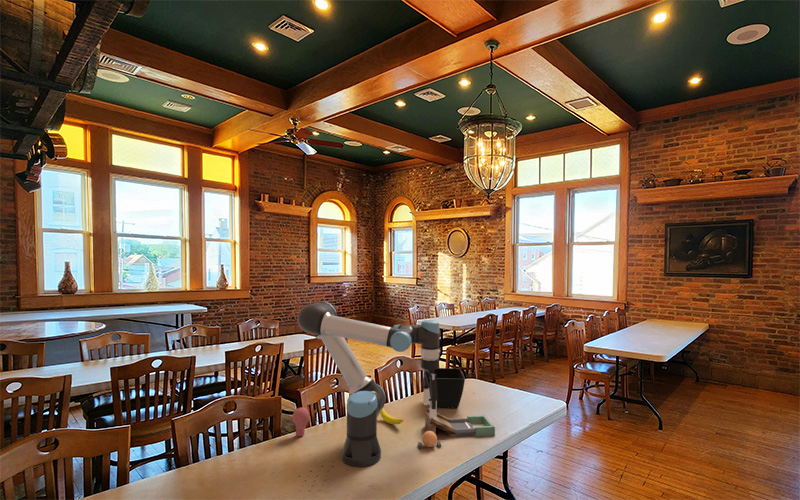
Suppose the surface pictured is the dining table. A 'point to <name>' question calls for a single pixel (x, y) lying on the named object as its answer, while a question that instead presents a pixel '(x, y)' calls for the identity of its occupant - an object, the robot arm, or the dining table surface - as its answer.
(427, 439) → the ball
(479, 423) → the green open tray
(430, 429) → the ramp
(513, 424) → the dining table surface
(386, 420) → the banana
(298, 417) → the light bulb
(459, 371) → the flower pot
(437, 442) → the grey flat pieces
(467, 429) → the runway
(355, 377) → the robot arm
